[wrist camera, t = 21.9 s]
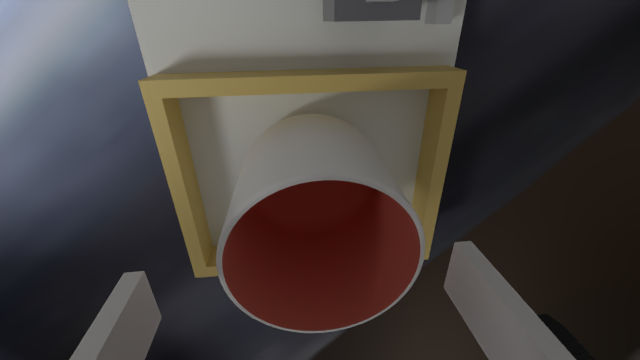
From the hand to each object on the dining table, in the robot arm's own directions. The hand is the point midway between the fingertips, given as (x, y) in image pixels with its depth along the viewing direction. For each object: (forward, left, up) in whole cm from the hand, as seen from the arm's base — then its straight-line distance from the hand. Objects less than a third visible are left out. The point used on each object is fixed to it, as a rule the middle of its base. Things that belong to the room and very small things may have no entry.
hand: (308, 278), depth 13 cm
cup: (+1, 0, -11) cm, 11 cm away
